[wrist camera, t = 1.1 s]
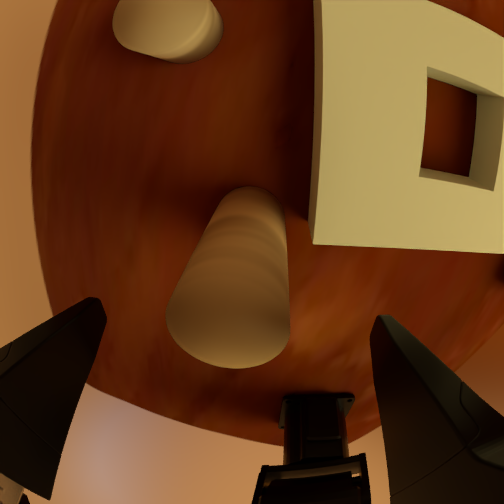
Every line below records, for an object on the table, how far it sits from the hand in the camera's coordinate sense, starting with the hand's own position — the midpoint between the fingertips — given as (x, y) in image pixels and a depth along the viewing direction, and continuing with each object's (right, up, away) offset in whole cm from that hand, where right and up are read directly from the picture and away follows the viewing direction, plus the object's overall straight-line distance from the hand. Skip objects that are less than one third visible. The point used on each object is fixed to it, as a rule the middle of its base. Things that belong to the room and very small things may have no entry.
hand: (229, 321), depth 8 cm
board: (+11, +9, +3) cm, 14 cm away
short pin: (-2, +13, +2) cm, 13 cm away
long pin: (+1, +4, +6) cm, 8 cm away
